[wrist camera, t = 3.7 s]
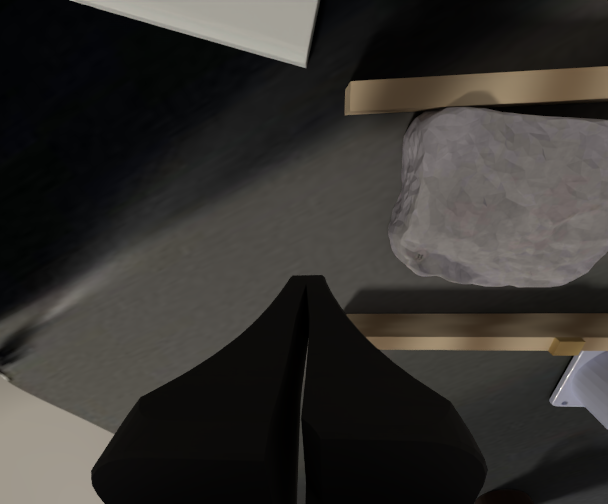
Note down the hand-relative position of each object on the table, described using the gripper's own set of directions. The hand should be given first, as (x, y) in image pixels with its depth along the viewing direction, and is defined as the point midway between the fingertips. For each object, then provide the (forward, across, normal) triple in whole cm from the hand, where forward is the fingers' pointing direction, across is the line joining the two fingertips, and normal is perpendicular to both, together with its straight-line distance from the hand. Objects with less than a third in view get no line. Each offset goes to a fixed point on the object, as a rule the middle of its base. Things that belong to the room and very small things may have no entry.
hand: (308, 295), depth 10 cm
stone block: (+8, -11, -2) cm, 14 cm away
